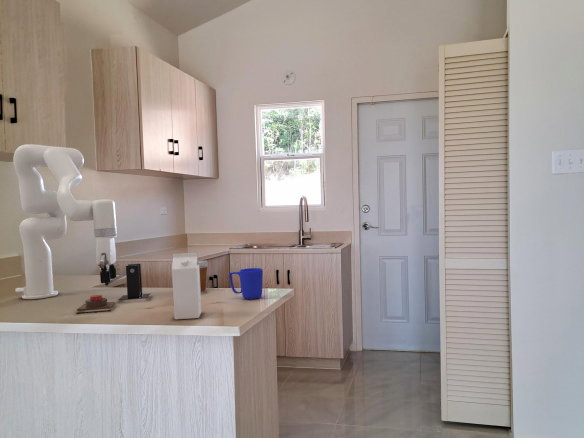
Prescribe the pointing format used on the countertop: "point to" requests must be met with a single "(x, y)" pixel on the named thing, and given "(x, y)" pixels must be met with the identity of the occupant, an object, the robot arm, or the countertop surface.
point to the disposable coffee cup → (203, 274)
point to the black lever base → (134, 283)
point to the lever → (116, 278)
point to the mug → (249, 282)
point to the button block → (95, 306)
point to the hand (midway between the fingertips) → (108, 280)
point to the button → (95, 297)
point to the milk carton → (186, 286)
